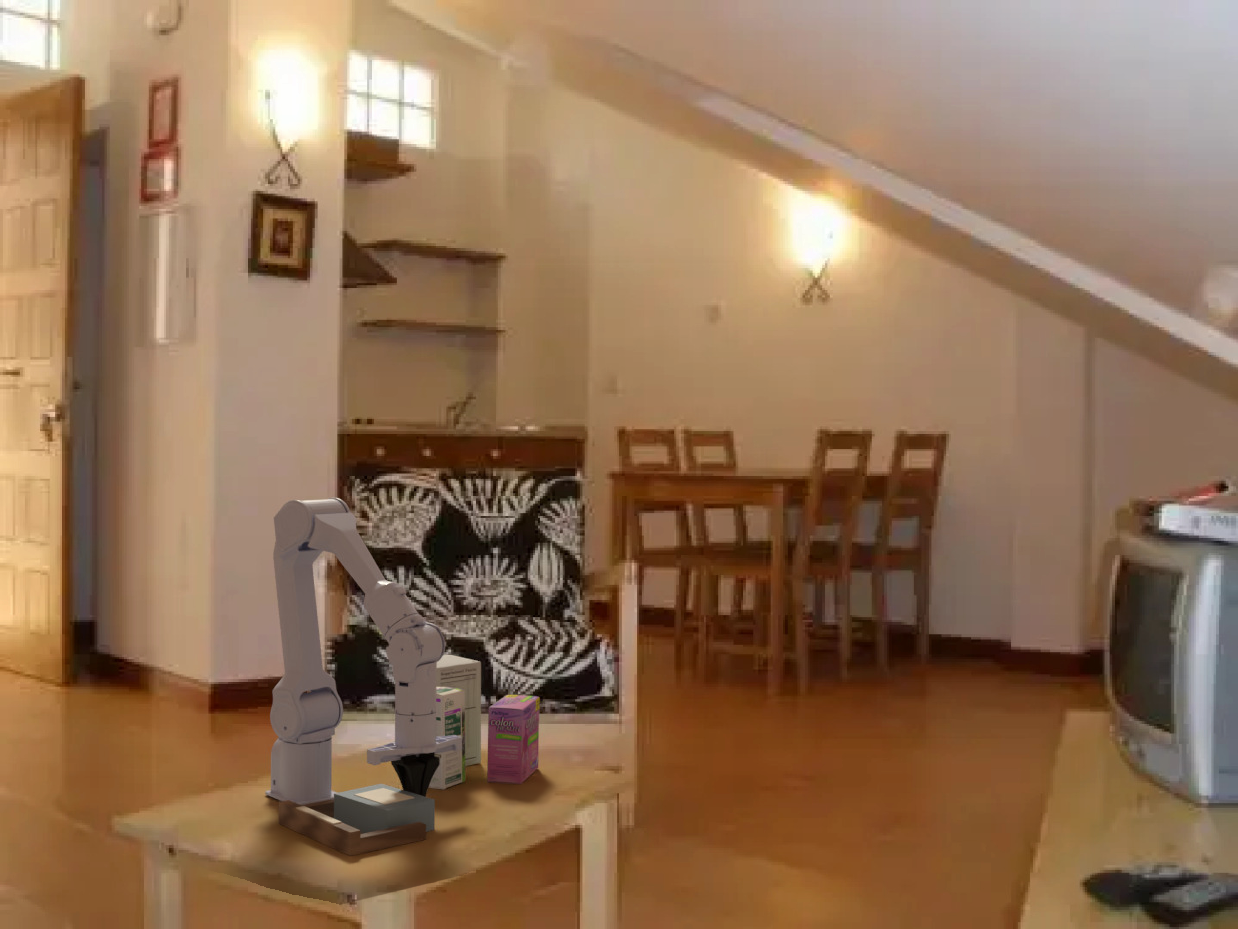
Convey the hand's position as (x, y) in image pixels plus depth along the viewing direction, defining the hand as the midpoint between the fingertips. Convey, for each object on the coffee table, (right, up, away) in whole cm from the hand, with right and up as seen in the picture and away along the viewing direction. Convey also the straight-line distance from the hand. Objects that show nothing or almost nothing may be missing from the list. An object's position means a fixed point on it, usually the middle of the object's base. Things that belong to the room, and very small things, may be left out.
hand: (415, 808), depth 200 cm
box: (+12, -1, +25) cm, 28 cm away
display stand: (-8, -2, -7) cm, 11 cm away
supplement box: (0, -1, +33) cm, 33 cm away
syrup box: (+1, -1, +19) cm, 20 cm away
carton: (-4, -2, -4) cm, 6 cm away
